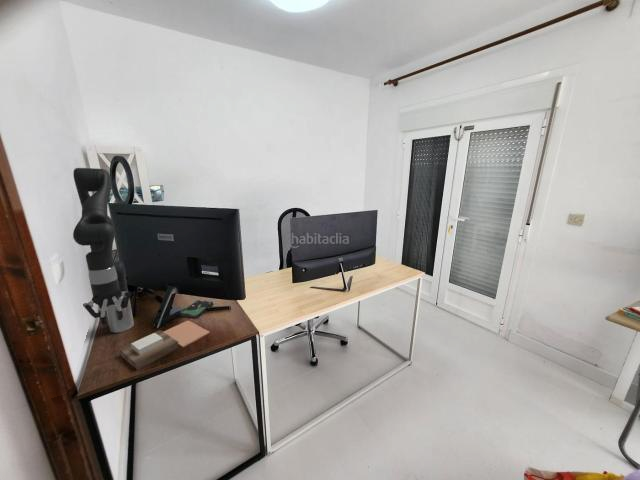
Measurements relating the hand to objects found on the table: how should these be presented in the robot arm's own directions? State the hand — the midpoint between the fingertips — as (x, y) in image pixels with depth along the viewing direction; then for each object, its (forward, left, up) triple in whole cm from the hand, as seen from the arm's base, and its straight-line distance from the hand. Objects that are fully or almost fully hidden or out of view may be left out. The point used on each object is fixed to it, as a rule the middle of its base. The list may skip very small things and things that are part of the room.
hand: (112, 322), depth 95 cm
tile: (0, +10, -16) cm, 19 cm away
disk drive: (-15, +41, -20) cm, 48 cm away
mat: (0, +26, -19) cm, 32 cm away
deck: (0, +10, -19) cm, 22 cm away
